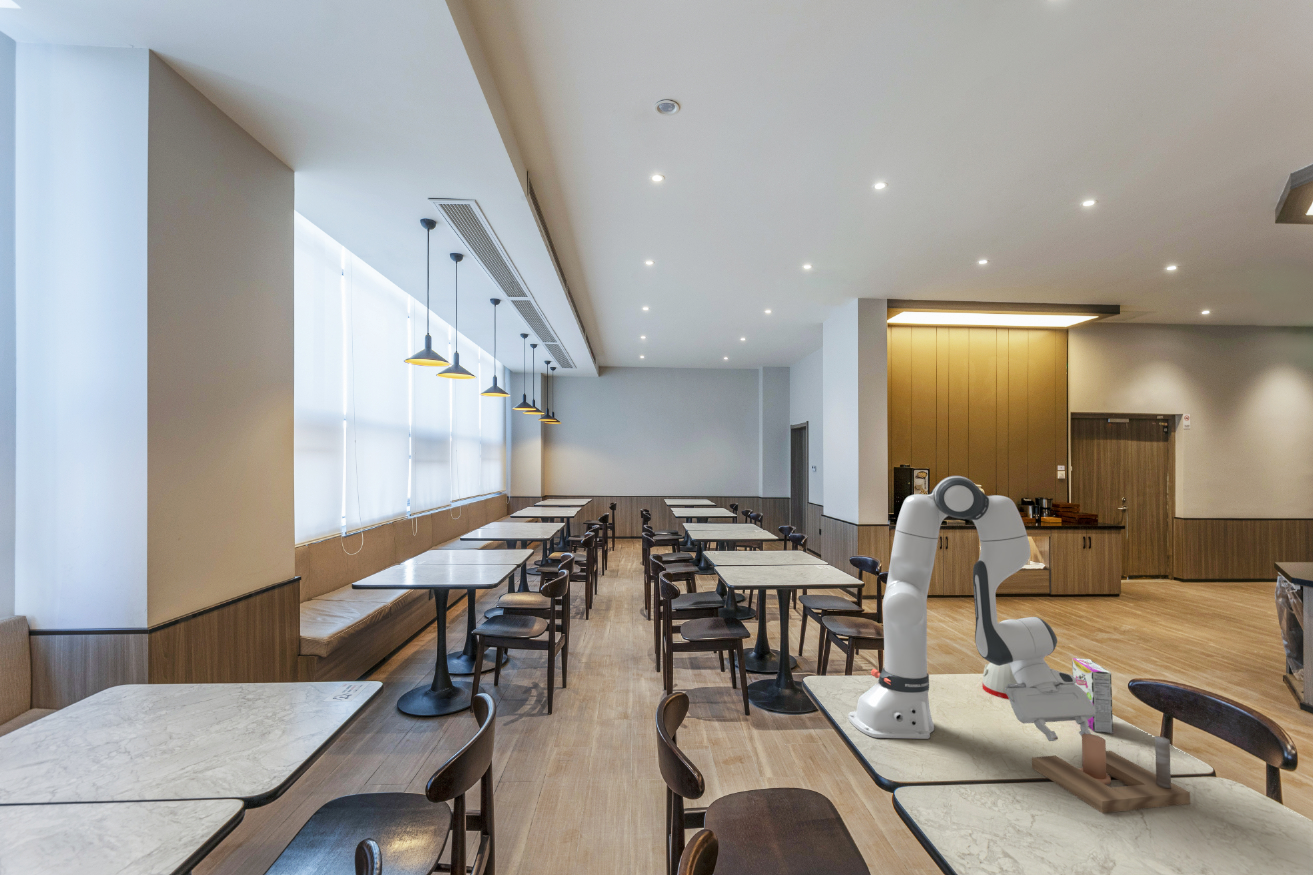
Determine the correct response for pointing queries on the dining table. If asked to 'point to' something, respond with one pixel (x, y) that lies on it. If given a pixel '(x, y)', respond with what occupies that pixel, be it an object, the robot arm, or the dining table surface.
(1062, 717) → the robot arm
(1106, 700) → the candy bar box
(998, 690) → the kitchen timer
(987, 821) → the dining table surface
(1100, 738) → the tan cylinder
